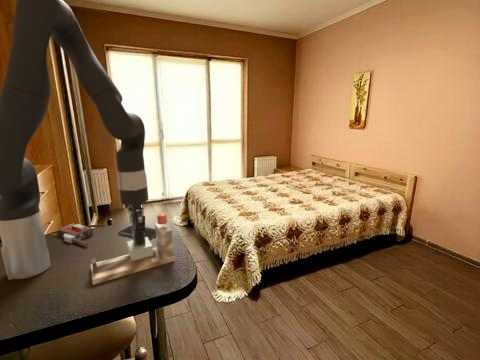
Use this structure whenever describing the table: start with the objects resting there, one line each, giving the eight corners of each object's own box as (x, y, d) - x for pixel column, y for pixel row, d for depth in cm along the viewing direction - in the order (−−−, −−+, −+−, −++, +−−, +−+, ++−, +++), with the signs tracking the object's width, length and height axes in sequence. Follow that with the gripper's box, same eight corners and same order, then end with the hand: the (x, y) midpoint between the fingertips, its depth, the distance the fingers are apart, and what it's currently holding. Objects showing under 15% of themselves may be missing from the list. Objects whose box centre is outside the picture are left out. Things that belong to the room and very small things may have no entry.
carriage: (131, 260, 73) (128, 235, 71) (127, 250, 79) (124, 226, 77) (153, 255, 76) (150, 230, 74) (148, 245, 82) (145, 222, 80)
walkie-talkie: (51, 237, 96) (84, 249, 87) (49, 226, 95) (83, 237, 86) (74, 229, 104) (107, 238, 95) (73, 218, 103) (106, 227, 94)
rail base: (92, 284, 68) (87, 250, 65) (91, 268, 75) (86, 237, 73) (174, 260, 79) (172, 230, 77) (166, 248, 86) (163, 221, 84)
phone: (148, 239, 92) (117, 232, 97) (148, 242, 92) (117, 235, 98) (162, 230, 99) (132, 224, 104) (162, 233, 99) (133, 227, 105)
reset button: (159, 225, 77) (158, 217, 77) (156, 222, 80) (156, 214, 79) (168, 223, 79) (167, 215, 78) (165, 220, 81) (165, 213, 81)
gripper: (115, 182, 76) (122, 235, 80) (122, 193, 65) (129, 255, 69) (141, 179, 80) (146, 230, 84) (152, 189, 69) (157, 247, 73)
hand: (139, 241), depth 76 cm, fingers closed on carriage, 3 cm apart
